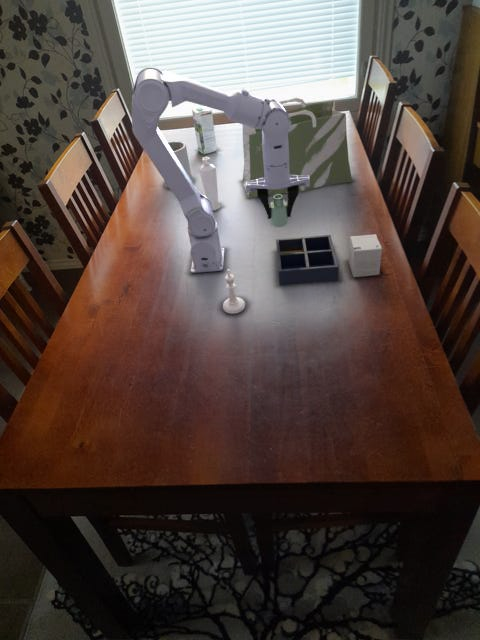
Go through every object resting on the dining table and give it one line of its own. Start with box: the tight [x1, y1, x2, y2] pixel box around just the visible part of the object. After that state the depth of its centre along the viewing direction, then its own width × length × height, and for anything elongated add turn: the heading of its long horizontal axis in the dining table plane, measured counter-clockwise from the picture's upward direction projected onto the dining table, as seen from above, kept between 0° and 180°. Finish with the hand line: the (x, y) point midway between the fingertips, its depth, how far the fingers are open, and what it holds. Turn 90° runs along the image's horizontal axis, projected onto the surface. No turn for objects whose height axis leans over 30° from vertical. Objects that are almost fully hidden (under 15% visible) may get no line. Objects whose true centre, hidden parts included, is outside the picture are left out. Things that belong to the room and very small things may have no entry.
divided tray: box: [275, 234, 339, 286], centre depth 107 cm, size 13×13×4 cm
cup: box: [163, 140, 193, 190], centre depth 146 cm, size 9×9×12 cm
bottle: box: [269, 193, 289, 228], centre depth 109 cm, size 4×4×7 cm
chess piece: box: [222, 268, 246, 315], centre depth 97 cm, size 5×5×10 cm
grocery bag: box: [242, 97, 353, 199], centre depth 134 cm, size 32×14×23 cm, turn 98°
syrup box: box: [191, 106, 218, 155], centre depth 163 cm, size 6×6×14 cm
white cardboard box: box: [348, 233, 383, 278], centre depth 103 cm, size 6×6×7 cm
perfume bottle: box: [199, 156, 221, 212], centre depth 130 cm, size 5×4×15 cm
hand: (279, 215), depth 110 cm, fingers closed on bottle, 4 cm apart
